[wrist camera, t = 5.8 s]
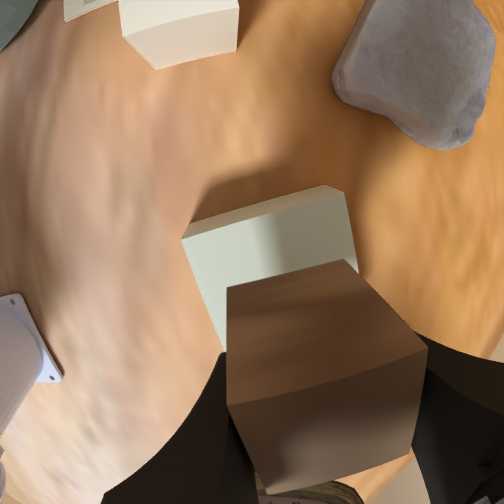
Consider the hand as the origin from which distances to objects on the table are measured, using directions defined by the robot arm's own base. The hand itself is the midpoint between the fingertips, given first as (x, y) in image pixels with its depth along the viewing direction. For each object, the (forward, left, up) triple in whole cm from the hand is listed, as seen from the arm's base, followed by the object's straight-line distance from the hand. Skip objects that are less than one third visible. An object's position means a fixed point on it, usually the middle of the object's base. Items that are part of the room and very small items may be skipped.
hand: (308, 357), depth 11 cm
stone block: (+12, +12, -9) cm, 19 cm away
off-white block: (-2, +15, -9) cm, 18 cm away
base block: (0, 0, -9) cm, 9 cm away
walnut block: (0, 0, -2) cm, 2 cm away
